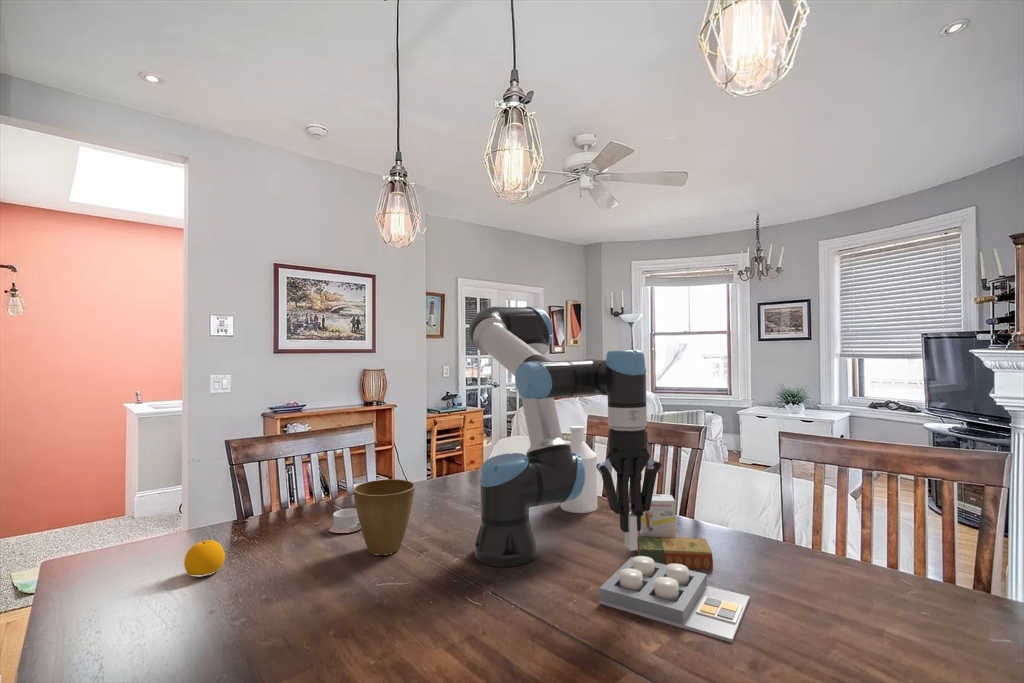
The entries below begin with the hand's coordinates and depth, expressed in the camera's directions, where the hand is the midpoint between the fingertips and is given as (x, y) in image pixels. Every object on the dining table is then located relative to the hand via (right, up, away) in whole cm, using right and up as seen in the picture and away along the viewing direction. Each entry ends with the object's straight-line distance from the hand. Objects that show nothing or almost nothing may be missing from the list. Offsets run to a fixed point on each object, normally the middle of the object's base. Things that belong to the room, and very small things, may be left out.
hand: (631, 547), depth 98 cm
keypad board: (+8, -10, -1) cm, 13 cm away
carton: (+14, -11, +18) cm, 25 cm away
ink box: (+13, -11, +27) cm, 32 cm away
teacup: (-70, -13, +42) cm, 83 cm away
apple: (-93, -13, +15) cm, 95 cm away
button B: (+4, -8, +6) cm, 11 cm away
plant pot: (-55, -12, +27) cm, 62 cm away
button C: (+6, -8, -4) cm, 10 cm away
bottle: (-3, -11, +57) cm, 58 cm away
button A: (0, -8, 0) cm, 8 cm away
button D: (+10, -8, +2) cm, 13 cm away
